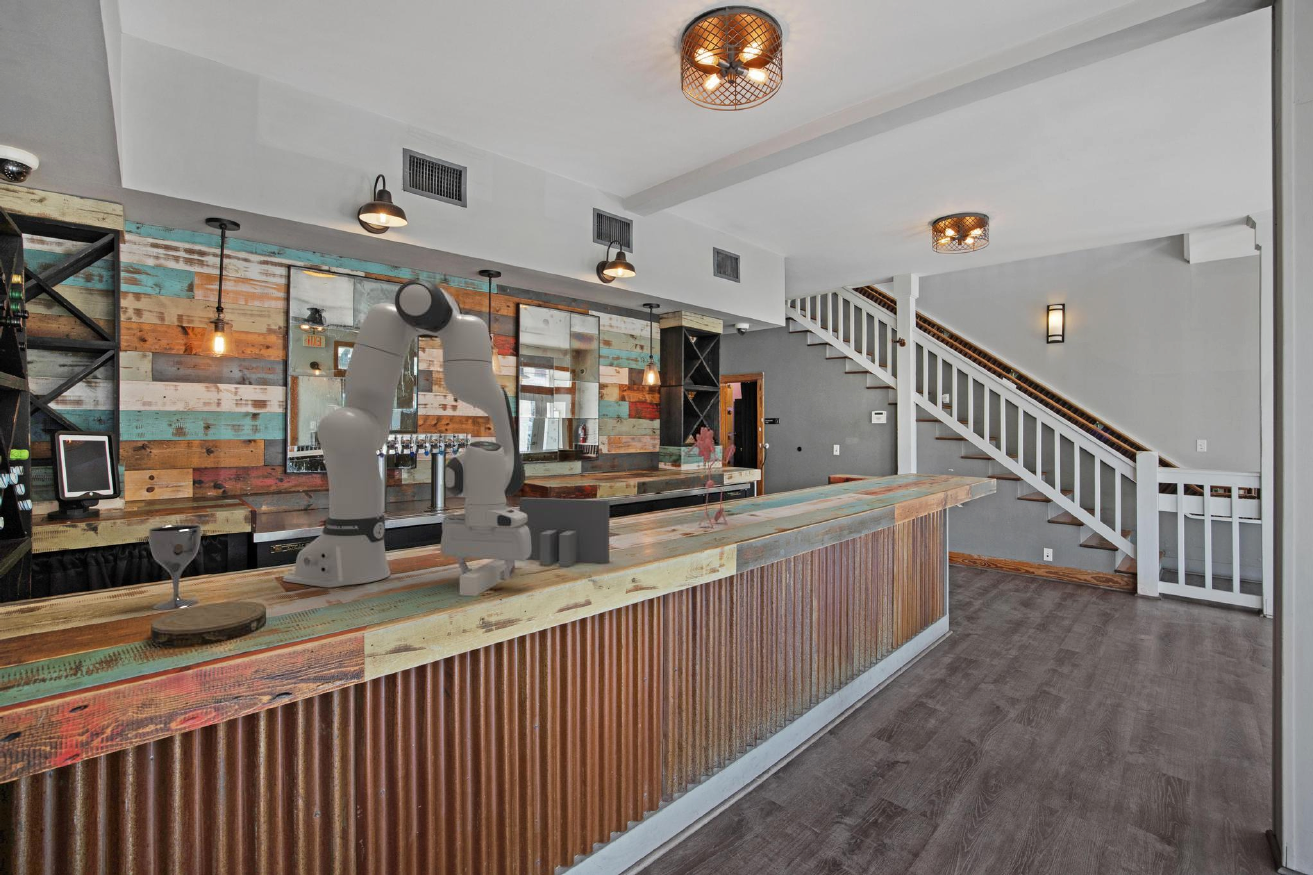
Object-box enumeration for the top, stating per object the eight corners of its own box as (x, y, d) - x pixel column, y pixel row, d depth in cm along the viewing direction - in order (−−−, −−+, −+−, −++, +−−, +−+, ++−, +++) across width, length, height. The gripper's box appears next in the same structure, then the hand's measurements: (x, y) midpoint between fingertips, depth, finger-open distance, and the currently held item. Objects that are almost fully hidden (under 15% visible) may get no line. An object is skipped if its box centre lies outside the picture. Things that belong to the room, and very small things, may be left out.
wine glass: (159, 613, 115) (159, 532, 114) (142, 606, 119) (141, 528, 118) (208, 602, 121) (208, 526, 121) (190, 596, 126) (190, 523, 125)
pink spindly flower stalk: (741, 522, 226) (740, 426, 225) (702, 531, 205) (700, 426, 205) (706, 519, 235) (705, 427, 235) (665, 527, 215) (664, 427, 215)
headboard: (509, 563, 157) (509, 501, 156) (522, 557, 165) (522, 497, 164) (600, 568, 152) (600, 504, 152) (609, 561, 160) (609, 500, 160)
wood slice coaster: (124, 648, 97) (124, 629, 97) (199, 617, 113) (198, 601, 113) (225, 649, 97) (225, 630, 97) (285, 617, 113) (285, 601, 113)
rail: (459, 595, 128) (459, 566, 128) (505, 570, 149) (505, 546, 149) (475, 596, 127) (475, 567, 127) (519, 571, 149) (519, 546, 149)
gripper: (434, 516, 134) (434, 579, 134) (522, 519, 130) (522, 584, 130) (449, 512, 140) (449, 572, 141) (534, 515, 136) (534, 577, 137)
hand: (485, 578), depth 135 cm, fingers open, 8 cm apart
